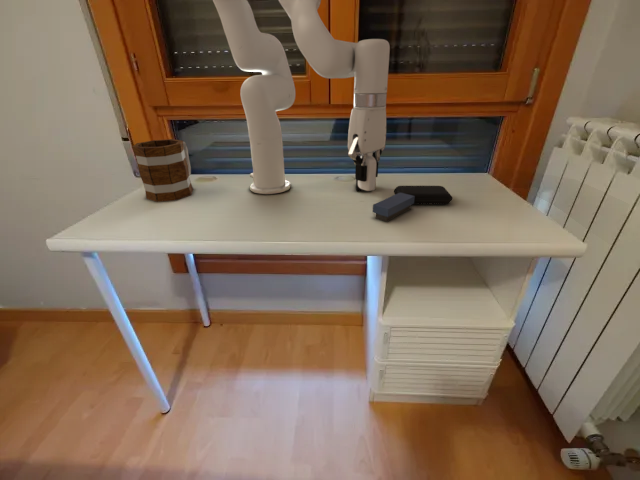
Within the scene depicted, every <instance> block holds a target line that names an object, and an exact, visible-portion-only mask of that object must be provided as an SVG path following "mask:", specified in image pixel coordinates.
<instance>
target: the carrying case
mask: <svg viewBox="0 0 640 480" xmlns="http://www.w3.org/2000/svg"><path fill="white" fill-rule="evenodd" d="M393 193H394V194H393V195H395V194H398V193H404V194H408V195H412V196H415V199H414V204H413V205H448V204H450V203H451V202H452V201H453V199H454V198H453V196H452V195H451V193H450V192H449V191H448V190H447V189H446V188H445V186H443V185H398V186H396V187H395V188H394V189H393Z"/></svg>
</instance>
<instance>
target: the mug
mask: <svg viewBox="0 0 640 480" xmlns="http://www.w3.org/2000/svg"><path fill="white" fill-rule="evenodd" d="M131 148H132V151H133V153H134V155H135V158H136V162H137V166H138V173H139V176H140V178H141V181H142V184H143V188H144V191H145V199H146V200H149V201H151V202H156V203H161V202H172V201H178V200H181V199H184V198H186V197H189V196H192V194H193V191H194V187H193V185H192V182H191V178H190V176H191V174H192V167H191V161H190V156H189V148H188V146H187V143H186V142H185V141H184V140H181V139H175V138H174V139H173V138H168V139H152V140H148V141H141V142H137V143H134V144H133V145H132V146H131Z"/></svg>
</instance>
